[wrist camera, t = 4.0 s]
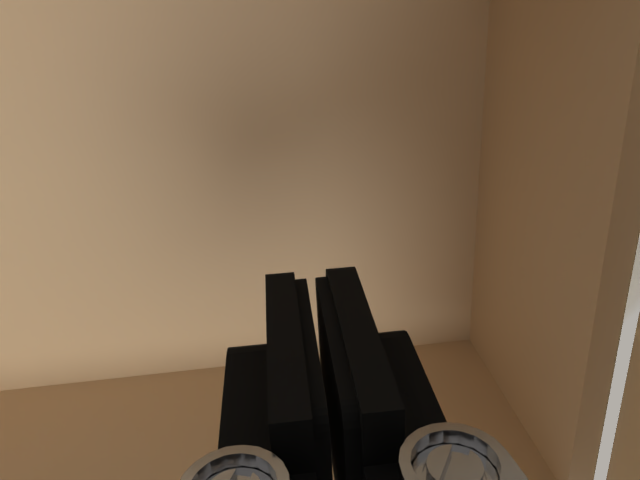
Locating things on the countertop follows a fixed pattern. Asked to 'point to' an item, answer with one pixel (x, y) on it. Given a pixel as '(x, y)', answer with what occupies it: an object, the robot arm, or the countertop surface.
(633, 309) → the countertop surface
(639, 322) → the flap
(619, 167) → the carton
